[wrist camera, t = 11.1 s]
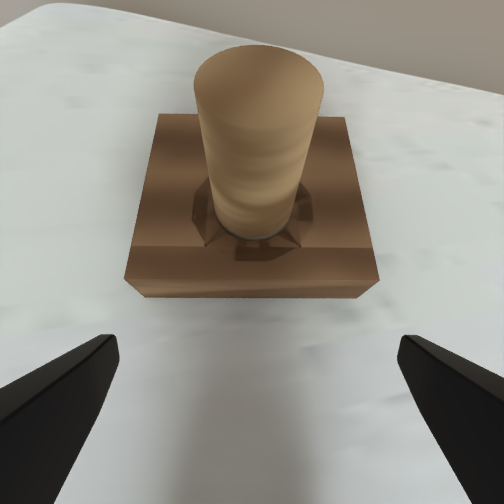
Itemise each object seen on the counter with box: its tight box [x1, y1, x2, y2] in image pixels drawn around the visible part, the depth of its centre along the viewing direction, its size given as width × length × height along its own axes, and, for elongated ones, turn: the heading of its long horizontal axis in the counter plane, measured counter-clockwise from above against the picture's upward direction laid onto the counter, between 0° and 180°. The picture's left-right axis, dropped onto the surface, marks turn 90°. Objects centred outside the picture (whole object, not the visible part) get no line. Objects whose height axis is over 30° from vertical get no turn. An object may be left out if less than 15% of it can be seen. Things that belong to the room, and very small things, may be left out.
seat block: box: [124, 114, 380, 298], centre depth 22 cm, size 15×16×4 cm
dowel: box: [194, 45, 324, 241], centre depth 17 cm, size 5×5×13 cm
